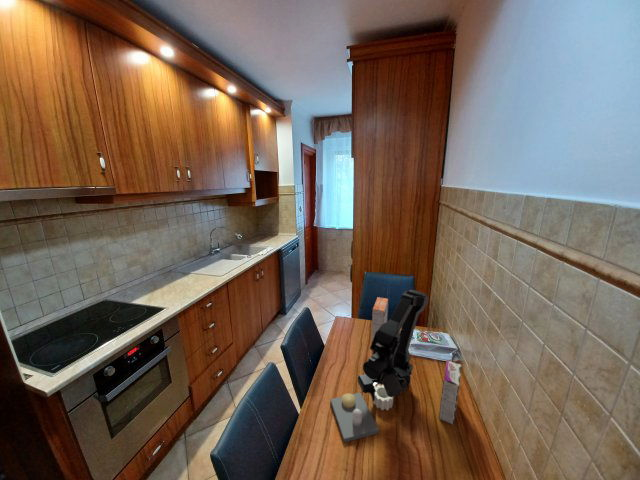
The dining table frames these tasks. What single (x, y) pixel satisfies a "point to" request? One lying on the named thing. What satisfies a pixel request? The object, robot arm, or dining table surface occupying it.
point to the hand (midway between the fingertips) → (382, 398)
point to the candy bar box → (450, 392)
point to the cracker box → (379, 315)
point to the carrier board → (348, 418)
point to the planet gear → (382, 398)
